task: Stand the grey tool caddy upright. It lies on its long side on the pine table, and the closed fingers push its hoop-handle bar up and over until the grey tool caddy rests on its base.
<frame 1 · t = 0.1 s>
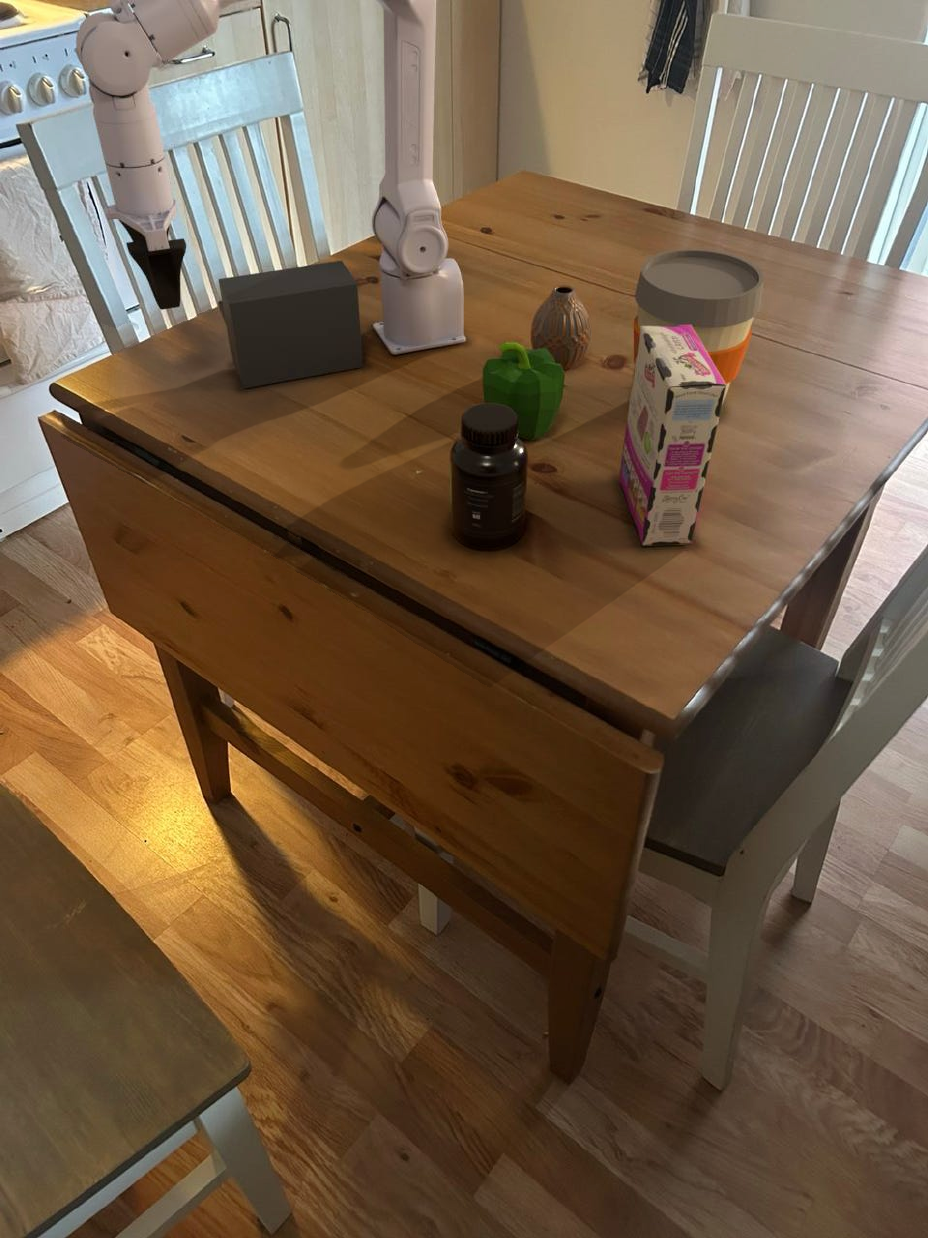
hand: (164, 292, 103), 10 cm above the table, tool pointing down, fingers open, 7 cm apart
bell pepper: (521, 429, 102), on the table
vase: (558, 362, 113), on the table
grey tool caddy: (288, 315, 109), point 5 cm above the table, hinge at 88.0°
reusable coffee cup: (678, 407, 106), on the table
supplement bottle: (487, 531, 89), on the table
candy bar box: (654, 512, 91), on the table
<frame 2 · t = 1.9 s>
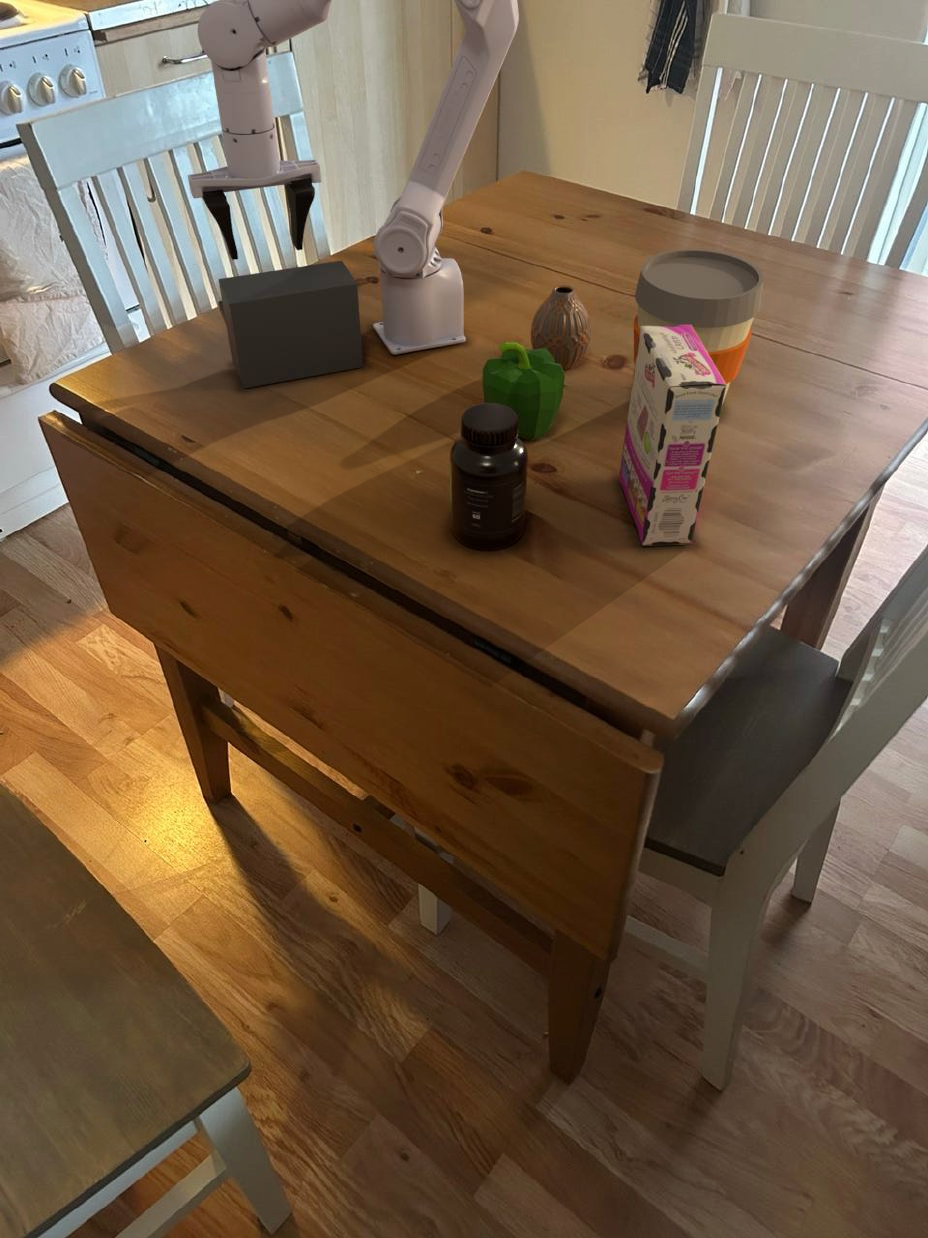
hand: (266, 251, 113), 9 cm above the table, tool pointing down, fingers open, 7 cm apart
nothing on the table moved.
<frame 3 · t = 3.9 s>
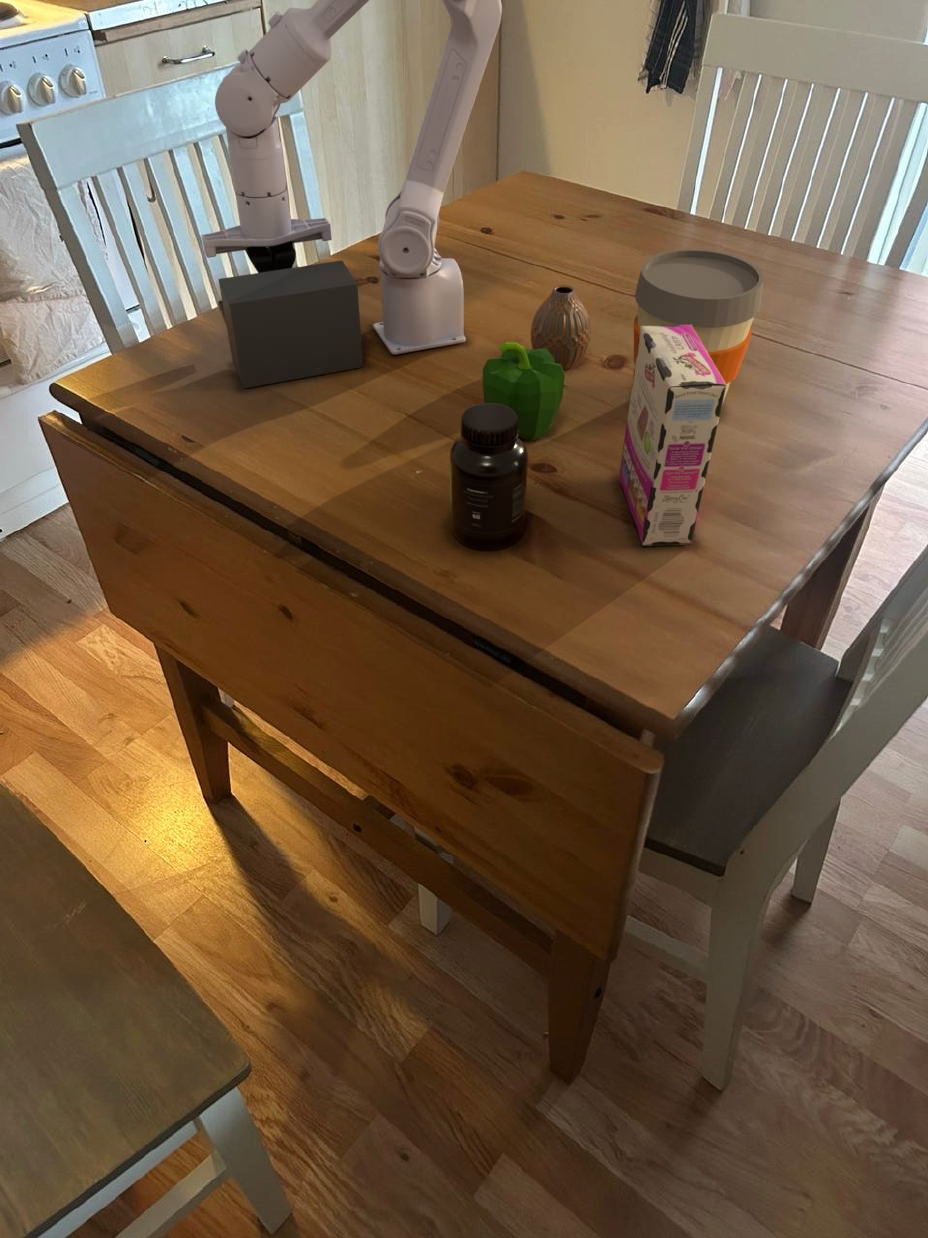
hand: (277, 305, 115), 4 cm above the table, tool pointing down, fingers closed, pressing on grey tool caddy
grey tool caddy: (288, 315, 109), point 5 cm above the table, hinge at 87.7°, touching gripper
everything else where it was.
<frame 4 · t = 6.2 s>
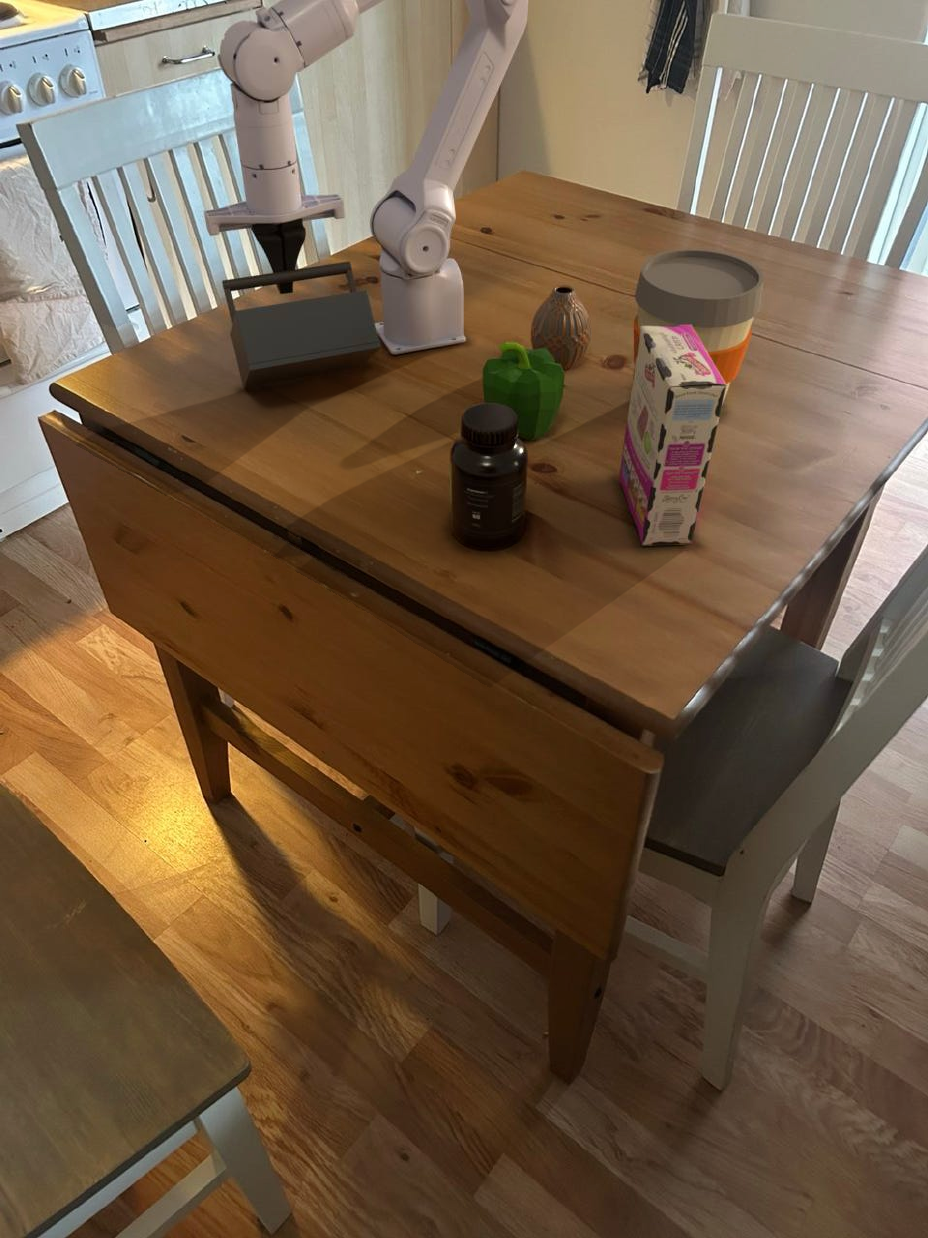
hand: (285, 289, 107), 9 cm above the table, tool pointing down, fingers closed, pressing on grey tool caddy
grey tool caddy: (298, 319, 104), point 7 cm above the table, hinge at 38.2°, touching gripper
everything else where it was.
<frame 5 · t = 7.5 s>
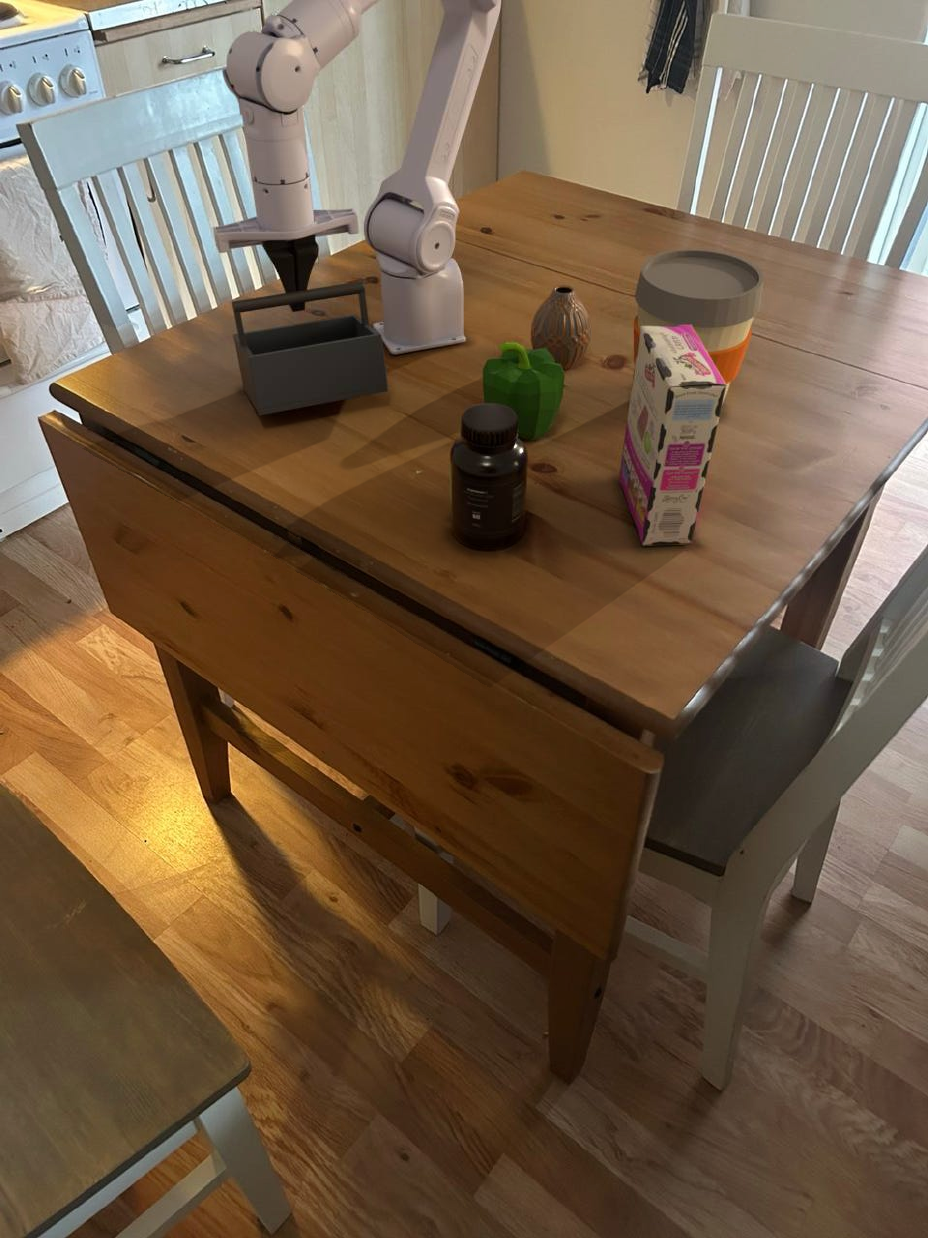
hand: (296, 307, 103), 9 cm above the table, tool pointing down, fingers closed, pressing on grey tool caddy
grey tool caddy: (306, 341, 103), point 6 cm above the table, hinge at 12.1°, touching gripper
everything else where it was.
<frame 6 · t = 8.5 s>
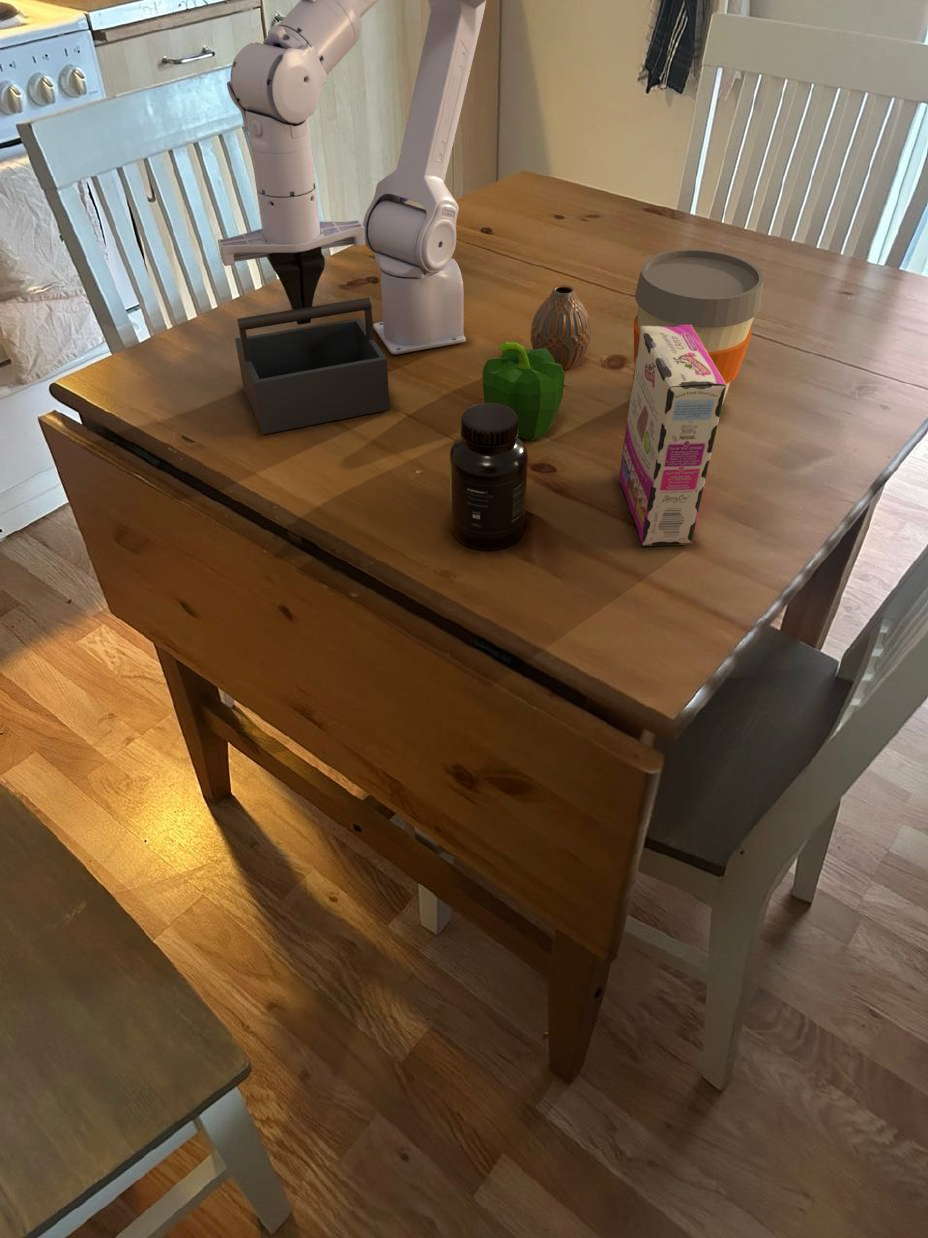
hand: (302, 319, 102), 8 cm above the table, tool pointing down, fingers closed
grey tool caddy: (310, 355, 103), point 5 cm above the table, hinge at -0.1°
everything else where it was.
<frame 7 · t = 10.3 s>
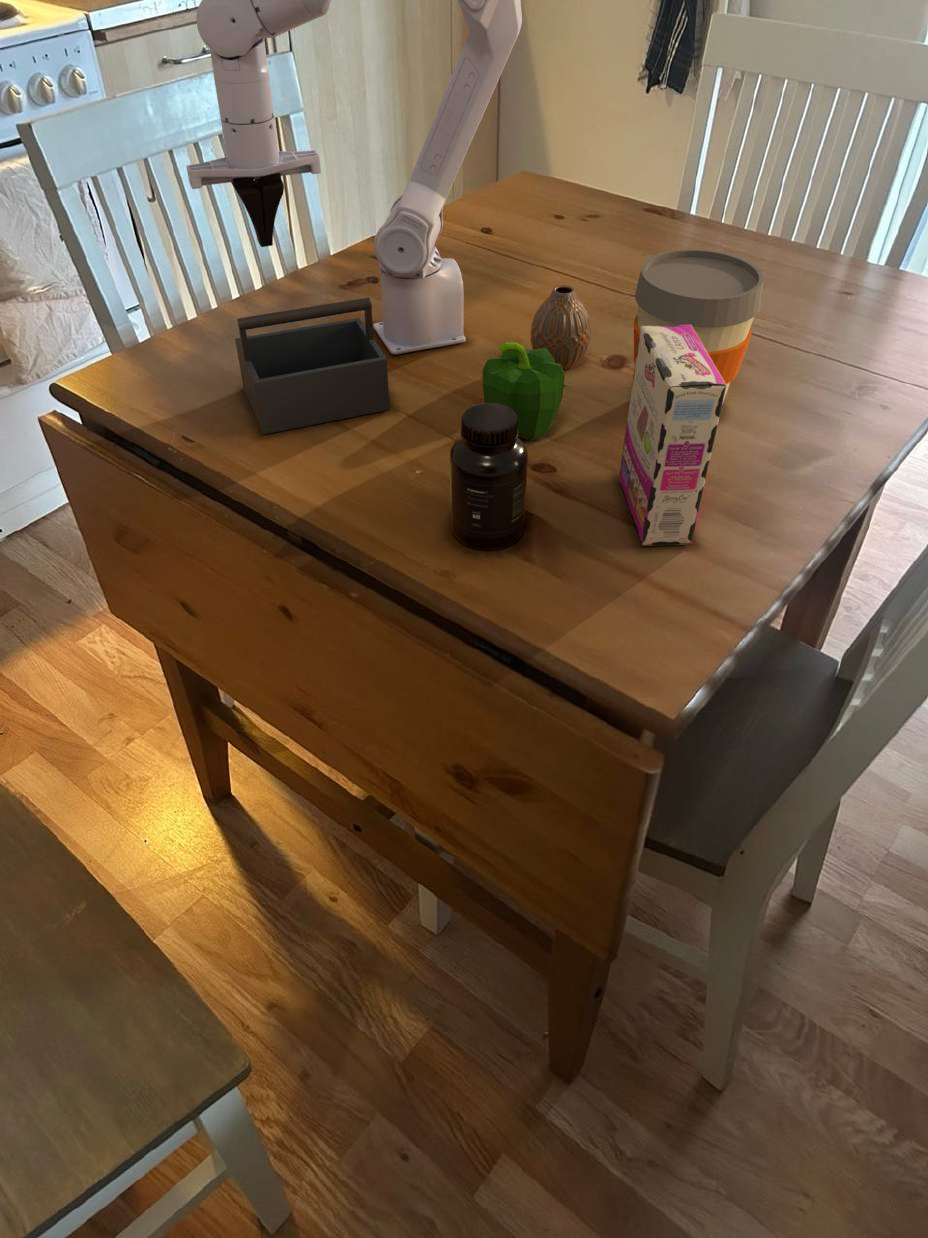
hand: (265, 243, 112), 10 cm above the table, tool pointing down, fingers closed
nothing on the table moved.
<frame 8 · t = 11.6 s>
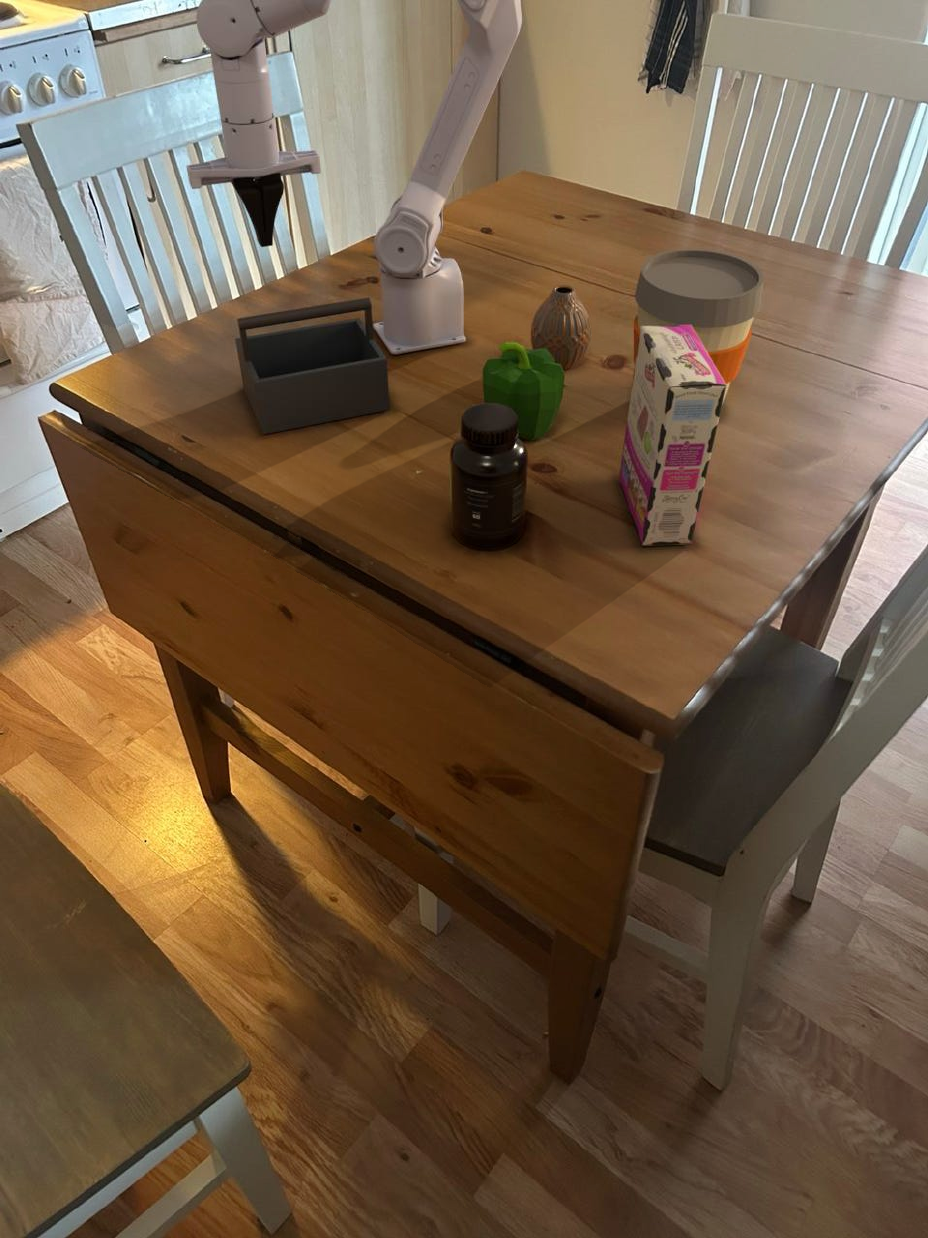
hand: (265, 243, 112), 10 cm above the table, tool pointing down, fingers closed
nothing on the table moved.
at the end: grey tool caddy at +0° (first picture: +88°); grey tool caddy on the table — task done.
